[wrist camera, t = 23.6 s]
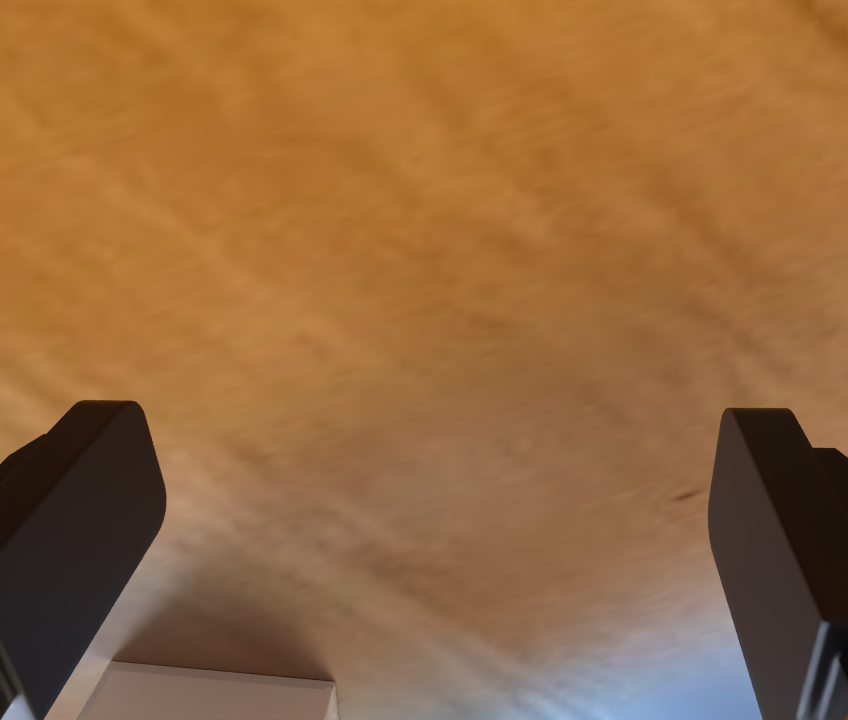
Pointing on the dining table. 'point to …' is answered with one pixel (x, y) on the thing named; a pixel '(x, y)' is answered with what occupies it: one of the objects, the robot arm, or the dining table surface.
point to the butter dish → (205, 695)
